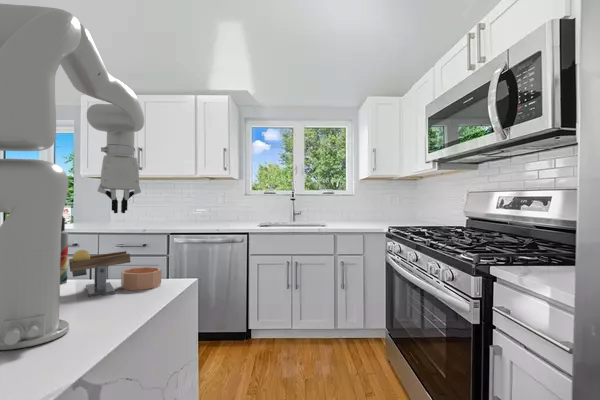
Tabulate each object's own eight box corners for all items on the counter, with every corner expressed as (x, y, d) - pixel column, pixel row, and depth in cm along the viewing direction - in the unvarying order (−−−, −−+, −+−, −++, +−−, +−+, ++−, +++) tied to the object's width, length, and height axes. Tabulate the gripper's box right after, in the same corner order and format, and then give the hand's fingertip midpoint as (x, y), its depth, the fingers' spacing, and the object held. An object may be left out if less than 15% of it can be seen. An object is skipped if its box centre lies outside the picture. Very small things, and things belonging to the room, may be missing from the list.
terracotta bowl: (164, 287, 100) (164, 271, 100) (124, 292, 94) (124, 275, 95) (156, 280, 109) (156, 266, 109) (118, 284, 103) (119, 269, 103)
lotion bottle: (67, 283, 103) (68, 216, 104) (43, 286, 100) (45, 216, 100) (67, 280, 108) (68, 215, 108) (44, 282, 105) (45, 215, 105)
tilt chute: (130, 268, 97) (129, 253, 97) (70, 277, 89) (69, 262, 89) (122, 260, 109) (121, 248, 109) (69, 268, 101) (68, 255, 101)
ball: (91, 264, 93) (89, 249, 93) (73, 267, 91) (71, 252, 90) (90, 262, 96) (88, 247, 96) (73, 265, 94) (71, 250, 94)
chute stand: (115, 293, 92) (115, 265, 93) (88, 297, 89) (89, 267, 89) (109, 285, 102) (110, 259, 102) (85, 287, 99) (86, 261, 99)
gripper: (91, 148, 99) (90, 213, 99) (150, 153, 108) (149, 213, 108) (89, 151, 105) (88, 212, 105) (145, 156, 114) (144, 212, 114)
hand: (119, 212), depth 106 cm, fingers closed
